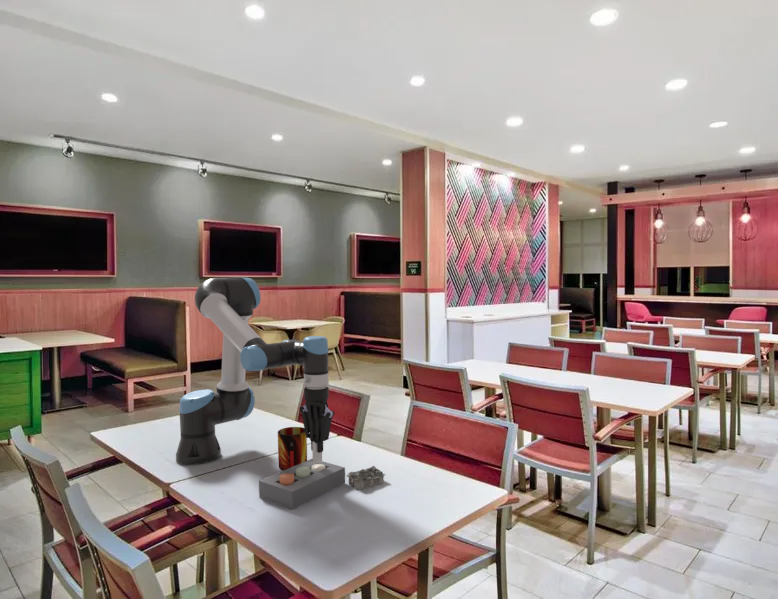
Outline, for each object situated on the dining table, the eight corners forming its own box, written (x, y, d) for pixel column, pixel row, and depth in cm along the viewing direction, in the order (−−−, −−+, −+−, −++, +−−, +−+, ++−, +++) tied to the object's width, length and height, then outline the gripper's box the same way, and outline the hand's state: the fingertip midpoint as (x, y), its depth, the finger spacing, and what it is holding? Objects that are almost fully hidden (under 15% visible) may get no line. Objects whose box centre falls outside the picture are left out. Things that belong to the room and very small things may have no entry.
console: (259, 497, 153) (258, 480, 153) (312, 473, 171) (312, 458, 171) (292, 509, 145) (292, 491, 145) (345, 483, 163) (344, 467, 162)
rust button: (276, 487, 152) (276, 476, 152) (287, 482, 155) (287, 472, 155) (286, 490, 150) (286, 479, 149) (297, 485, 153) (297, 475, 153)
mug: (291, 477, 168) (290, 440, 168) (273, 464, 180) (272, 430, 179) (318, 470, 174) (317, 434, 173) (299, 458, 185) (298, 425, 185)
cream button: (308, 477, 163) (308, 467, 162) (318, 473, 166) (318, 463, 166) (318, 480, 160) (318, 469, 160) (328, 475, 163) (327, 465, 163)
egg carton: (356, 492, 157) (356, 478, 157) (345, 483, 163) (344, 470, 163) (387, 483, 162) (386, 470, 162) (374, 476, 169) (374, 463, 169)
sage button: (293, 480, 157) (293, 469, 157) (303, 475, 161) (303, 465, 161) (303, 483, 155) (302, 472, 155) (313, 478, 158) (313, 468, 158)
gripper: (292, 386, 163) (293, 460, 164) (323, 391, 155) (324, 470, 156) (309, 381, 169) (311, 453, 170) (340, 387, 161) (341, 462, 162)
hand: (317, 461), depth 163 cm, fingers closed
